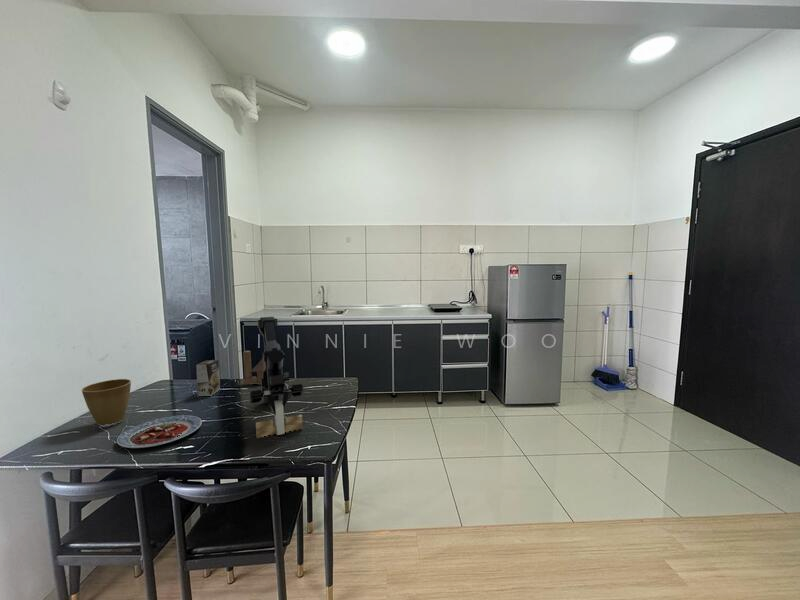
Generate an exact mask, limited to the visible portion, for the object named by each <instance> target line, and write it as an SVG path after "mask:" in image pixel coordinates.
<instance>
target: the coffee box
mask: <svg viewBox="0 0 800 600" xmlns="http://www.w3.org/2000/svg"><path fill="white" fill-rule="evenodd" d="M195 367H196V381H197V382H196V385H197V397H198V396H211V397H212V395H213V394H214V395H215V393H216V392H217V393H219V392H220V391H221V386H220V385H221V384H220V365H219V359H211V360H207V359H206V360H204V361H201V362H200V363H197V364H196V366H195ZM219 390H220V391H219ZM218 391H219V392H218ZM217 393H216V394H217ZM214 395H213V396H214Z"/></svg>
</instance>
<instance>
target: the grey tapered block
mask: <svg viewBox="0 0 800 600" xmlns="http://www.w3.org/2000/svg"><path fill="white" fill-rule="evenodd" d="M274 405H275V410H276V415H274V426H277V434H276V435H277V436H279V435H285V431H284V424H285V412H284V409H283V400H282V399H281V400H278V401H274Z"/></svg>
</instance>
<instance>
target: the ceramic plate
mask: <svg viewBox="0 0 800 600" xmlns="http://www.w3.org/2000/svg"><path fill="white" fill-rule="evenodd" d="M202 421H203V420H202V419H201V418H200V417H197V416H196V415H195V416H194V415H183V414H181V415H172V416H166V417H161V418H157V419H152V420H149V421H145V422H143V423H140V424H137V425H135V426H133V427H130V428H128V429H127V430H125V431H124V432H122V433H121V434H119V436H118V437H117V439H116V443H117V445H119V446H120V447H123V448H129V449H141V448H142V449H144V448H150V447H156V446H160V445H164V444H168V443H172V442H175V441H177V440H180V439H183V438H186V437H187V436H189V435H190V434H192V433H194V432H196V431H197V430H198V429H199V428H200V427H201V425H202V423H203V422H202ZM170 423H176V424H174V425H169V424H170ZM161 424H162V425H165V426H166V427H153V426H157V425H159V426H161ZM166 424H167V425H166ZM150 427H152V428H150ZM147 428H150V429H147ZM145 429H147V430H145ZM143 430H145V431H144V432H143V433H140V434H139V435H138V436H137V437H135V438H134V440H133V443H132V442H131V441H130V438H131V437H132V436H133V435H135V434H136V433H139V432H140V431H143ZM180 433H182V434H180ZM177 435H180V436H178V437H177ZM165 440H167V441H165ZM159 441H160V442H159ZM162 441H163V442H162ZM154 442H158V443H154ZM149 443H153V444H149ZM137 444H142V445H137ZM144 444H145V445H144Z"/></svg>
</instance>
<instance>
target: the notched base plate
mask: <svg viewBox="0 0 800 600" xmlns="http://www.w3.org/2000/svg"><path fill="white" fill-rule="evenodd" d="M284 420H285V423H284V431H285V432H286V433H290V432H289V431H291V432H295V431H294V430H296V431H300V430H299V429H301V430H303V429H304V427H303V415H302V414H297V415H291V416H286V417H285V416H284ZM255 430H256V431H255V433H256V434H255V435H256V439H260V437H261V438H265V437H264V436H266V437H269V436H268V435H271V436H274V435H273V434H276V435H277V426H275V425H274V420H273V419H269V420H263V421H262V420H261V421H257V422H255Z"/></svg>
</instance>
